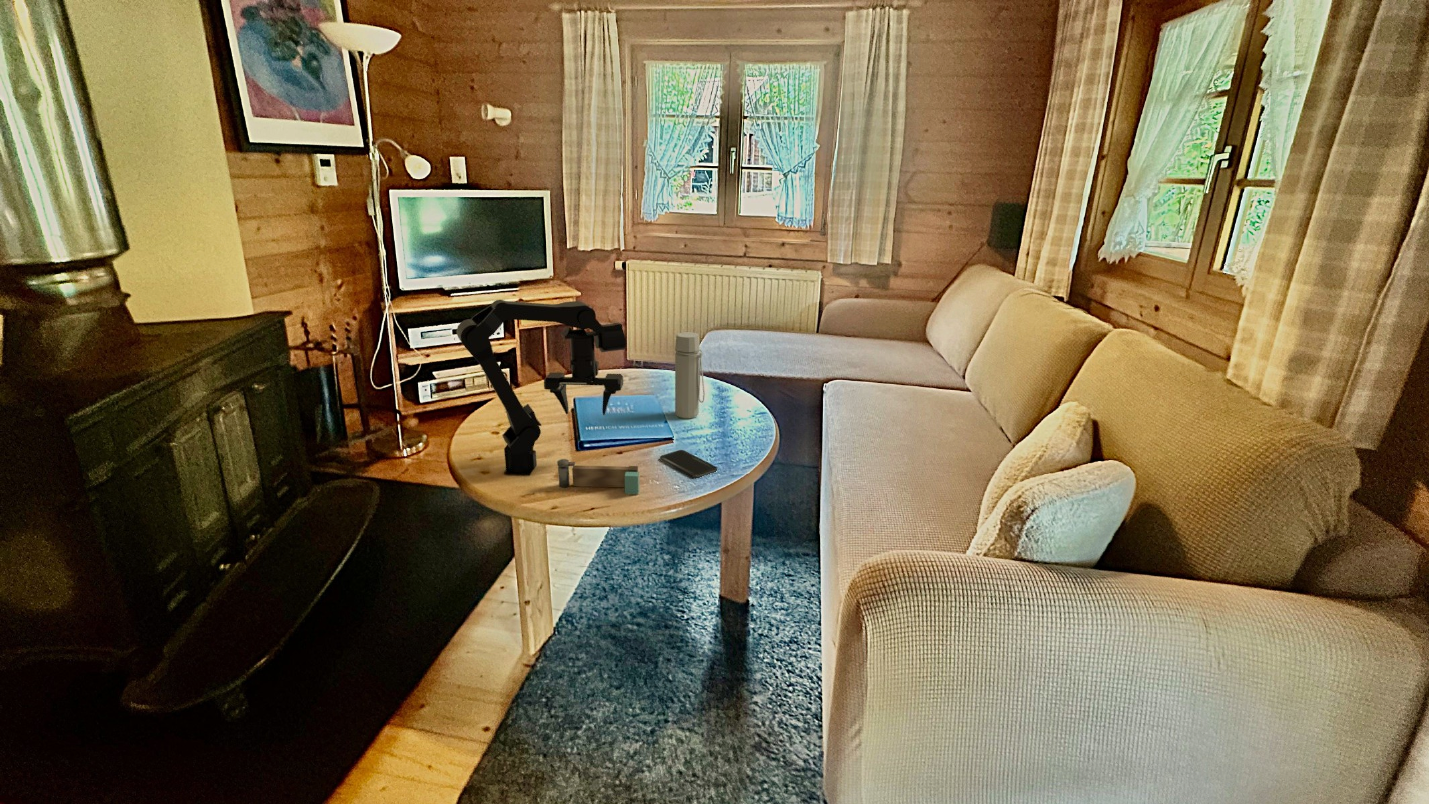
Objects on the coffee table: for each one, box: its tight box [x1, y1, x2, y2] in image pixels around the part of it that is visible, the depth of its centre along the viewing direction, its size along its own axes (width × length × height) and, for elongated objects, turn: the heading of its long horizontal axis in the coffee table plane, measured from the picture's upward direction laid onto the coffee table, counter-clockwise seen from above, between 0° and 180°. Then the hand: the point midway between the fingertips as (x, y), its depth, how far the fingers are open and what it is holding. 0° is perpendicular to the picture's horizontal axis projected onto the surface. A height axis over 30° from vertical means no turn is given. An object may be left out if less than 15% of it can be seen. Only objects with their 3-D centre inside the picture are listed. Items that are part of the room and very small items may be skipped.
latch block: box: [624, 471, 640, 495], centre depth 156 cm, size 3×2×5 cm
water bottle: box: [674, 331, 706, 420], centre depth 200 cm, size 9×8×25 cm
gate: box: [557, 458, 639, 488], centre depth 158 cm, size 18×3×6 cm, turn 90°
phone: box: [659, 449, 718, 480], centre depth 171 cm, size 8×1×15 cm
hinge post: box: [557, 466, 571, 489], centre depth 158 cm, size 2×2×5 cm
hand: (585, 414), depth 170 cm, fingers open, 9 cm apart
